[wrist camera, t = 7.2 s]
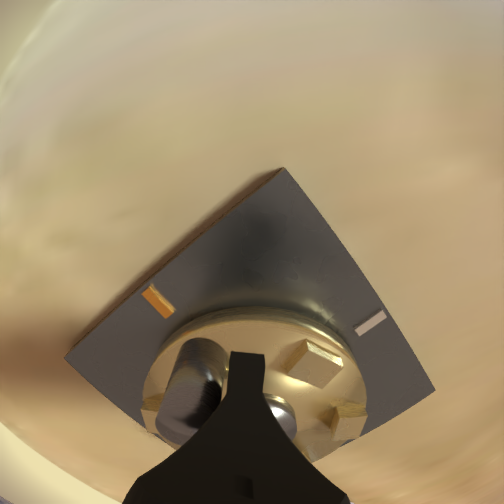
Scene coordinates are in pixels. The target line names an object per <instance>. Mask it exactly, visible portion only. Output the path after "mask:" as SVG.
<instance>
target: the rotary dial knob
mask: <svg viewBox="0 0 504 504" xmlns="http://www.w3.org/2000/svg"><path fill="white" fill-rule="evenodd" d="M231 351H236V352H246V353H256V354H264V356H265V366H266V367H265V376H264V384H263V394H264V396H265V398H266V401H267V403H268V405H269V406H270V408H271V410H272V412H273V414H274V415H275V417H276V419H277V421H278V422H279V424H280V425H281V427H282V428H283V430H284V431H285V433H286V434H287V435H288V437H289V438H290V439H291V441H292V442H293V443H294V445H295V446H296V447H297V448H298V449H299V450H300V452H301V453H302V454H303V455H304V456H305V457H306V458H307V459H308V461H309V462H310V463H312V462H315V461H317V460H319V459H321V458H323V457H325V456H327V455H328V454H330V453H331V452H333V451H334V450H336V449H337V448H339V447H340V446H341V445H342V444H343V443H344V442H346V441H347V440H348V439H357V438H359V436H360V434H361V431H362V429H363V427H364V424H365V422H366V419H367V417H368V415H367V412H366V410H365V408H366V400H367V395H366V387H365V384H364V381H363V378H362V375H361V373H360V370H359V368H358V365H357V363H356V360H355V358H354V355H353V354H352V352H351V350H350V348H349V347H348V345H347V344H346V343H345V342H344V341H343V339H342V338H341V337H340V336H339V335H337V334H336V333H335V332H334V331H333V330H332V329H330V328H329V327H327V326H326V325H324V324H322V323H321V322H319V321H317V320H315V319H313V318H310V317H308V316H306V315H303V314H300V313H297V312H293V311H289V310H284V309H279V308H272V307H261V306H253V307H236V308H229V309H223V310H219V311H215V312H211V313H208V314H206V315H203V316H200V317H198V318H196V319H194V320H192V321H190V322H188V323H186V324H184V325H183V326H182V327H180V328H179V329H177V330H176V331H175V332H173V333H172V334H171V335H170V336H169V337H168V338H167V339H166V340H165V342H164V343H163V345H162V346H161V347H160V349H159V351H158V353H157V355H156V357H155V359H154V362H153V364H152V366H151V368H150V371H149V373H148V375H147V378H146V380H145V383H144V388H143V405H142V407H141V412H142V416H143V419H144V422H145V426H146V429H147V432H150V433H156V434H158V435H159V436H160V437H161V438H162V439H163V440H164V441H165V442H166V443H168V444H169V445H170V446H171V447H173V448H174V449H175V450H178V449H179V448H180V447H181V446H182V445H184V444H185V443H186V442H187V441H188V440H189V439H190V438H191V437H192V436H193V435H194V434H195V433H196V432H197V431H198V430H199V429H200V428H201V427H202V426H203V424H204V423H205V422H206V421H207V420H208V419H209V417H210V416H211V415H212V414H213V412H214V411H215V410H216V408H217V407H218V405H219V404H220V402H221V401H222V400H223V398H224V397H225V395H226V392H227V380H228V368H229V360H230V353H231Z"/></svg>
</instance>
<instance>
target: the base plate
mask: <svg viewBox="0 0 504 504" xmlns="http://www.w3.org/2000/svg"><path fill="white" fill-rule="evenodd" d="M253 306H261V307H272V308H279V309H284V310H289V311H293V312H297V313H300V314H303V315H306V316H308V317H310V318H313V319H315V320H317V321H319V322H321V323H322V324H324V325H326V326H327V327H329V328H330V329H332V330H333V331H334V332H335V333H336V334H337V335H339V336H340V337H341V338H342V339H343V341H344V342H345V343H346V344H347V345H348V347H349V348H350V350H351V352H352V354H353V355H354V358H355V360H356V363H357V365H358V368H359V370H360V373H361V375H362V378H363V381H364V384H365V387H366V395H367V400H366V408H365V410H366V412H367V415H368V417H367V419H366V422H365V424H364V427H363V429H362V431H361V434H360V436H362V435H364V434H366V433H368V432H370V431H372V430H373V429H375V428H377V427H379V426H380V425H382V424H384V423H386V422H387V421H389V420H391V419H392V418H394V417H396V416H397V415H399V414H401V413H402V412H404V411H405V410H407V409H409V408H410V407H412V406H413V405H415V404H416V403H418V402H419V401H421V400H422V399H424V398H425V397H427V396H428V395H430V394H431V393H433V392H434V391H435V388H434V386H433V385H432V383H431V381H430V379H429V378H428V376H427V374H426V372H425V371H424V369H423V367H422V366H421V364H420V362H419V360H418V359H417V357H416V355H415V354H414V352H413V350H412V349H411V347H410V345H409V344H408V342H407V341H406V339H405V337H404V336H403V334H402V332H401V331H400V329H399V328H398V326H397V324H396V323H395V321H394V320H393V318H392V317H391V315H390V313H389V312H388V310H387V309H386V307H385V306H384V304H383V303H382V301H381V300H380V298H379V296H378V295H377V293H376V292H375V290H374V289H373V287H372V286H371V284H370V283H369V281H368V280H367V279H366V277H365V276H364V274H363V273H362V271H361V270H360V268H359V267H358V265H357V264H356V262H355V261H354V260H353V258H352V257H351V255H350V254H349V252H348V251H347V250H346V248H345V247H344V245H343V244H342V243H341V241H340V240H339V238H338V237H337V236H336V234H335V233H334V231H333V230H332V229H331V227H330V226H329V225H328V223H327V222H326V221H325V219H324V218H323V217H322V215H321V214H320V213H319V211H318V210H317V208H316V207H315V206H314V205H313V203H312V202H311V201H310V199H309V198H308V197H307V195H306V194H305V193H304V191H303V190H302V189H301V188H300V186H299V185H298V184H297V182H296V181H295V180H294V179H293V177H292V176H291V175H290V173H289V172H288V171H287V170H286V169H285V168H284V167H283V168H282V169H281V170H279V171H278V172H277V173H275V174H274V175H273V176H272V177H270V178H269V179H268V180H267V181H265V182H264V183H263V184H261V185H260V186H259V187H258V188H256V189H255V190H254V191H253V192H251V193H250V194H249V195H248V196H246V197H245V198H244V199H243V200H241V201H240V202H239V203H238V204H236V205H235V206H234V207H233V208H231V209H230V210H229V211H228V212H227V213H225V214H224V215H223V216H222V217H220V218H219V219H218V220H217V221H216V222H214V223H213V224H212V225H211V226H209V227H208V228H207V229H206V230H205V231H203V232H202V233H201V234H200V235H199V236H197V237H196V238H195V239H194V240H193V241H191V242H190V243H189V244H188V245H187V246H186V247H184V248H183V249H182V250H181V251H180V252H178V253H177V254H176V255H175V256H174V257H173V258H171V259H170V260H169V261H168V262H167V263H166V264H164V265H163V266H162V267H161V268H160V269H159V270H158V271H156V272H155V273H154V274H153V275H152V276H151V277H149V278H148V279H147V280H146V281H145V282H144V283H143V284H142V285H140V286H139V287H138V288H137V289H136V290H135V291H134V292H132V293H131V294H130V295H129V296H128V297H127V298H126V299H125V300H124V301H122V302H121V303H120V304H119V305H118V306H117V307H116V308H115V309H114V310H112V311H111V312H110V313H109V314H108V315H107V316H106V317H105V318H104V319H103V320H101V321H100V322H99V323H98V324H97V325H96V326H95V327H94V328H93V329H92V330H91V331H90V332H88V333H87V334H86V335H85V336H84V337H83V338H82V339H81V340H80V341H79V342H78V343H77V344H76V345H75V346H74V347H73V348H71V350H70V351H69V352H68V353H67V355H66V356H65V357H64V359H65V360H66V361H67V362H68V363H69V364H70V365H71V366H72V367H73V368H74V369H75V370H76V371H78V372H79V373H80V374H81V375H82V376H83V377H84V378H85V379H86V380H87V381H88V382H89V383H90V384H92V385H93V386H94V387H95V388H96V389H97V390H98V391H100V392H101V393H102V394H103V395H104V396H105V397H106V398H108V399H109V400H110V401H111V402H112V403H114V404H115V405H116V406H117V407H119V408H120V409H121V410H122V411H124V412H125V413H126V414H127V415H129V416H130V417H131V418H132V419H134V420H135V421H136V422H138V423H139V424H140V425H142V426H143V427H144V428H146V426H145V422H144V419H143V416H142V412H141V407H142V405H143V388H144V383H145V380H146V378H147V375H148V373H149V371H150V368H151V366H152V364H153V362H154V359H155V357H156V355H157V353H158V351H159V349H160V347H161V346H162V345H163V343H164V342H165V340H166V339H167V338H168V337H169V336H170V335H171V334H172V333H173V332H175V331H176V330H177V329H179V328H180V327H182V326H183V325H184V324H186V323H188V322H190V321H192V320H194V319H196V318H198V317H200V316H203V315H206V314H208V313H211V312H215V311H219V310H223V309H229V308H236V307H253ZM153 434H154V435H155V436H157V437H158V438H160V439H161V440H162V441H164V440H163V439H162V438H161V437H160V436H159V435H158V434H156V433H153ZM360 436H359V437H360ZM353 440H355V439H348V440H347V441H346V442H344V443H343V444H342V445H341V446H343V445H345V444H347V443H349V442H351V441H353ZM164 442H165V441H164ZM165 443H166V442H165ZM167 444H168V443H167ZM168 445H169V444H168ZM341 446H340V447H341Z"/></svg>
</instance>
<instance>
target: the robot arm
mask: <svg viewBox="0 0 504 504" xmlns="http://www.w3.org/2000/svg"><path fill="white" fill-rule="evenodd" d="M265 367H266V366H265V356H264V354H256V353H246V352H236V351H231V353H230V360H229V368H228V380H227V392H226V395H225V397H224V398H223V400H222V401H221V402H220V404H219V405H218V407H217V408H216V410H215V411H214V412H213V414H212V415H211V416H210V417H209V419H208V420H207V421H206V422H205V423H204V424H203V426H202V427H201V428H200V429H199V430H198V431H197V432H196V433H195V434H194V435H193V436H192V437H191V438H190V439H189V440H188V441H187V442H186V443H185V444H184V445H182V446H181V447H180V448H179V449H178V450H176V451H175V452H174V453H173V454H172V455H170V456H169V457H168V458H167V459H165V460H164V461H163V462H161V463H160V464H158V465H157V466H155V467H154V468H152V469H151V470H149V471H148V472H146V473H145V474H143V475H141V476H140V477H138V478H137V480H136V481H135V483H134V484H133V485H132V487H131V488H130V490H129V492H128V493H127V495H126V497H125V499H124V501H123V503H122V504H354V503H352V502H350V501H349V498H348V496H347V494H346V493H344V492H343V491H342V490H341V489H339V488H338V487H337V486H335V485H334V484H333V483H332V482H331V481H329V480H328V479H327V478H326V477H325V476H324V475H323V474H321V473H320V472H319V471H318V470H317V469H316V468H315V467H314V466H313V465H312V464H311V463H310V462H309V461H308V459H307V458H306V457H305V456H304V455H303V454H302V453H301V452H300V450H299V449H298V448H297V447H296V446H295V445H294V443H293V442H292V441H291V439H290V438H289V437H288V435H287V434H286V433H285V431H284V430H283V428H282V427H281V425H280V424H279V422H278V421H277V419H276V417H275V415H274V414H273V412H272V410H271V408H270V406H269V405H268V403H267V401H266V398H265V396H264V394H263V384H264V376H265ZM0 504H12V503H11V502H9V501H7V500H5V499H4V498H3V497H1V496H0Z"/></svg>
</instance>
